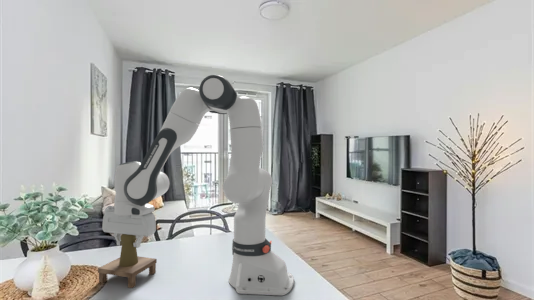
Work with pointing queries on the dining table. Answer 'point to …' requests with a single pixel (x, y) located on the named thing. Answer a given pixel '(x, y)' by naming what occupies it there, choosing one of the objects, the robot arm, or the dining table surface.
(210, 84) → the robot arm
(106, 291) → the dining table surface
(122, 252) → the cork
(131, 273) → the walnut stand
